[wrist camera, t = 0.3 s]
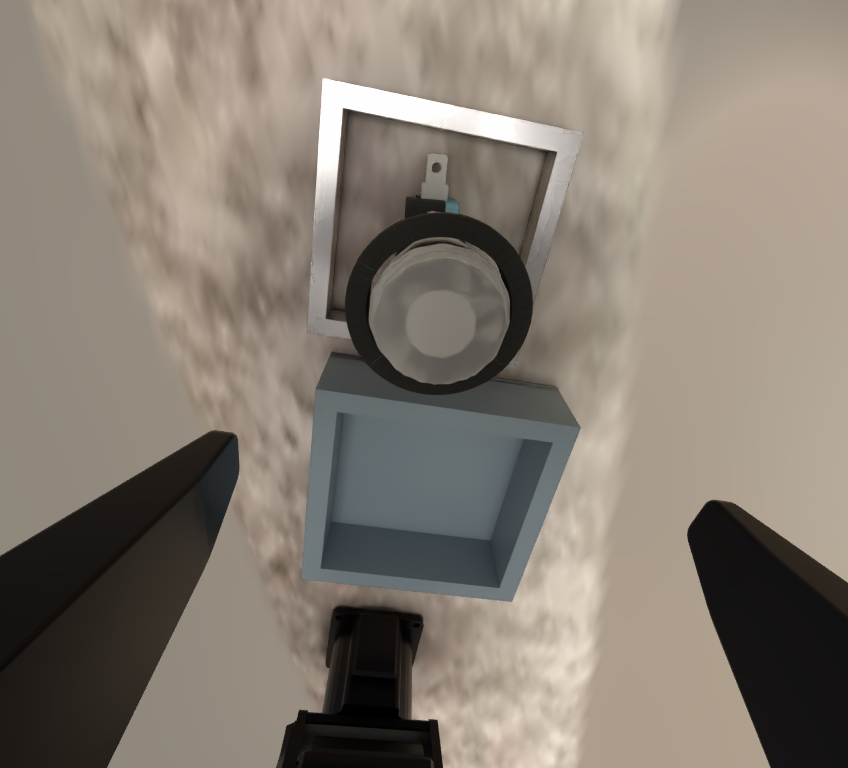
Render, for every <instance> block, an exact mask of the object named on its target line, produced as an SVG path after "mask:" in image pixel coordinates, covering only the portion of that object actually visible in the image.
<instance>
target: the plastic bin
mask: <svg viewBox="0 0 848 768" xmlns="http://www.w3.org/2000/svg"><path fill="white" fill-rule="evenodd" d="M580 428H581V427H580V426H579V424H578V422H577V421H576V419H575V417H574V416H573V414H572V412H571V411H570V409H569V407H568V406H567V404H566V402H565V400H564V399H563V397H562V395H561V394H560V392H559V390H558V389H557V387H553V386H546V385H540V384H533V383H527V382H520V381H514V380H507V379H501V378H494V377H493V378H492V379H490V380H489V381H487V382H485V383H483V384H481V385H480V386H477V387H475V388H473V389H470V390H467V391H464V392H460V393H455V394H448V395H425V394H419V393H414V392H411V391H407V390H405V389H402V388H399V387H397V386H395V385H393V384H391V383H389V382H388V381H386V380H385V379H383V378H382V377H380V376H379V375H378V374H376V373H375V372H374V371H373V370H372V369H371V368H370V367H369V366H368V365H367V364H366V362H365V361H364V360H363V359H362V357H358V356H352V355H345V354H339V353H332V352H331V354H330V356H329V359H328V361H327V364H326V366H325V368H324V371H323V373H322V375H321V378H320V380H319V383H318V385H317V387H316V393H315V406H314V419H313V432H312V444H311V457H310V470H309V483H308V496H307V509H306V522H305V535H304V548H303V561H302V574H301V579H303V580H313V581H322V582H332V583H341V584H350V585H360V586H369V587H378V588H388V589H397V590H406V591H416V592H425V593H434V594H444V595H453V596H462V597H472V598H481V599H490V600H500V601H509V602H512V600H513V598H514V595H515V593H516V590H517V588H518V585H519V583H520V580H521V578H522V575H523V573H524V570H525V568H526V565H527V562H528V560H529V557H530V555H531V552H532V550H533V547H534V545H535V542H536V540H537V537H538V535H539V532H540V530H541V527H542V524H543V522H544V519H545V517H546V514H547V512H548V509H549V507H550V504H551V502H552V499H553V497H554V494H555V492H556V489H557V486H558V484H559V481H560V479H561V476H562V474H563V471H564V469H565V466H566V464H567V461H568V459H569V456H570V454H571V451H572V448H573V446H574V443H575V441H576V438H577V436H578V433H579V431H580Z"/></svg>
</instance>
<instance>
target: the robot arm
mask: <svg viewBox="0 0 848 768" xmlns="http://www.w3.org/2000/svg"><path fill="white" fill-rule="evenodd" d="M238 475H239V450H238V438H237V436H236V435H235V434H234V433H231V432H224V431H217V430H213V431H210V432H208V433H206V434H205V435H203V436H201V437H200V438H198V439H196V440H195V441H193V442H191V443H189V444H188V445H186V446H184V447H183V448H181V449H180V450H178V451H176V452H174V453H173V454H171V455H169V456H168V457H166V458H164V459H162V460H161V461H159V462H157V463H156V464H154V465H152V466H151V467H149V468H147V469H146V470H144V471H142V472H141V473H139V474H137V475H135V476H134V477H132V478H130V479H129V480H127V481H125V482H124V483H122V484H120V485H119V486H117V487H115V488H114V489H112V490H110V491H108V492H107V493H105V494H103V495H102V496H100V497H98V498H97V499H95V500H93V501H92V502H90V503H88V504H87V505H85V506H83V507H82V508H80V509H78V510H77V511H75V512H73V513H71V514H70V515H68V516H66V517H65V518H63V519H61V520H60V521H58V522H56V523H55V524H53V525H51V526H49V527H48V528H46V529H44V530H43V531H41V532H40V533H38V534H36V535H34V536H33V537H31V538H29V539H28V540H26V541H24V542H23V543H21V544H19V545H17V546H16V547H14V548H12V549H11V550H9V551H7V552H6V553H4V554H2V555H1V556H0V768H107V766H108V764H109V762H110V760H111V758H112V756H113V754H114V752H115V750H116V748H117V746H118V744H119V742H120V740H121V738H122V736H123V734H124V731H125V730H126V727H127V726H128V724H129V722H130V719H131V717H132V715H133V713H134V711H135V709H136V707H137V705H138V703H139V701H140V699H141V697H142V695H143V693H144V691H145V689H146V687H147V685H148V683H149V681H150V679H151V677H152V675H153V672H154V671H155V668H156V666H157V664H158V662H159V660H160V658H161V656H162V654H163V652H164V650H165V648H166V646H167V644H168V642H169V640H170V638H171V636H172V634H173V632H174V630H175V628H176V626H177V623H178V622H179V620H180V617H181V615H182V613H183V611H184V609H185V607H186V605H187V603H188V601H189V599H190V597H191V595H192V593H193V591H194V589H195V587H196V585H197V583H198V581H199V579H200V577H201V575H202V573H203V571H204V568H205V566H206V564H207V562H208V559H209V557H210V555H211V552H212V549H213V547H214V544H215V541H216V539H217V535H218V533H219V530H220V527H221V524H222V522H223V519H224V516H225V513H226V510H227V508H228V505H229V502H230V499H231V496H232V494H233V491H234V488H235V485H236V482H237V479H238ZM687 537H688V542H689V546H690V549H691V552H692V556H693V559H694V562H695V566H696V570H697V573H698V576H699V580H700V583H701V587H702V590H703V593H704V596H705V600H706V604H707V607H708V610H709V613H710V616H711V619H712V621H713V624H714V627H715V629H716V632H717V634H718V637H719V639H720V642H721V645H722V647H723V650H724V652H725V655H726V657H727V660H728V662H729V665H730V667H731V669H732V672H733V674H734V677H735V679H736V682H737V684H738V687H739V690H740V692H741V695H742V697H743V699H744V702H745V705H746V707H747V710H748V712H749V715H750V717H751V720H752V722H753V725H754V727H755V730H756V732H757V735H758V737H759V740H760V743H761V745H762V748H763V750H764V753H765V755H766V758H767V760H768V763H769V765H770V767H771V768H848V583H847V582H846V581H844V580H843V579H841V578H840V577H839V576H837V575H836V574H835V573H833V572H832V571H830V570H829V569H827V568H826V567H825V566H823V565H822V564H820V563H819V562H817V561H816V560H815V559H813V558H812V557H810V556H809V555H807V554H806V553H804V552H803V551H802V550H800V549H799V548H797V547H796V546H795V545H793V544H791V543H790V542H789V541H787V540H786V539H785V538H783V537H782V536H780V535H779V534H777V533H776V532H775V531H773V530H772V529H770V528H769V527H767V526H766V525H764V524H763V523H762V522H760V521H759V520H757V519H756V518H755V517H753V516H752V515H750V514H749V513H747V512H746V511H745V510H743V509H742V508H740V507H739V506H738V505H736V504H734V503H731V502H726V501H719V500H710V501H709V502H707V503H706V504H705V505H704V506H703V508H702V509H701V511H700V512H699V513H698V515H697V516H696V518H695V519H694V520H693V522H692V523H691V525H690V526H689V528H688V533H687ZM422 630H423V618H422V617H420V616H415V615H405V614H395V613H385V612H376V611H366V610H356V609H346V608H336V609H334V610H333V612H332V618H331V626H330V633H329V641H328V649H327V657H326V667H327V668H330V669H329V675H328V681H327V687H326V693H325V699H324V705H323V711H322V713H312V712H308V711H307V710H299V713H298V717H297V721H295V722H294V723H292V724H289V725H287V726H286V731H285V735H284V740H283V744H282V749H281V753H280V756H279V760H278V763H277V767H276V768H443V763H442V755H441V746H440V737H439V729H438V721H437V720H434V719H429V720H428V721H423V720H412V666H413V663H414V659H415V655H416V652H417V648H418V644H419V641H420V637H421V633H422Z"/></svg>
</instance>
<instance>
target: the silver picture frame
mask: <svg viewBox="0 0 848 768" xmlns="http://www.w3.org/2000/svg"><path fill="white" fill-rule="evenodd" d="M348 111H351V112H356V113H361V114H366V115H371V116H375V117H380V118H385V119H390V120H395V121H400V122H405V123H410V124H415V125H419V126H424V127H429V128H434V129H439V130H444V131H449V132H454V133H459V134H464V135H468V136H473V137H478V138H483V139H488V140H493V141H498V142H503V143H508V144H513V145H517V146H522V147H527V148H532V149H537V150H542V151H547V156H546V160H545V164H544V167H543V171H542V175H541V179H540V182H539V186H538V190H537V194H536V197H535V201H534V205H533V208H532V212H531V216H530V220H529V223H528V227H527V231H526V235H525V238H524V242H523V246H522V250H521V253H520V258H521V260H522V261H523V263H524V265H525V268H526V270H527V272H528V275H529V279H530V282H531V287H532V294H533V303H534V300H535V297H536V293H537V290H538V286H539V283H540V280H541V276H542V273H543V269H544V266H545V263H546V259H547V256H548V252H549V249H550V246H551V242H552V239H553V236H554V232H555V229H556V225H557V222H558V219H559V215H560V212H561V208H562V205H563V202H564V198H565V195H566V192H567V188H568V185H569V181H570V178H571V175H572V171H573V168H574V164H575V161H576V158H577V154H578V151H579V148H580V144H581V141H582V137H583V134H584V133H582V132H577V131H573V130H568V129H563V128H558V127H554V126H549V125H544V124H539V123H535V122H530V121H525V120H520V119H516V118H511V117H506V116H501V115H496V114H492V113H487V112H482V111H477V110H473V109H468V108H463V107H458V106H454V105H449V104H444V103H439V102H434V101H430V100H425V99H420V98H415V97H411V96H406V95H401V94H396V93H392V92H387V91H382V90H377V89H373V88H368V87H363V86H358V85H353V84H349V83H344V82H339V81H334V80H330V79H325V78H323V84H322V100H321V116H320V132H319V148H318V164H317V180H316V195H315V211H314V227H313V243H312V259H311V275H310V291H309V307H308V322H307V333H314V334H320V335H326V336H333V337H339V338H345V339H351V337H350V334H349V331H348V327H347V322H346V316H345V311H341V310H335V309H331V303H332V292H333V280H334V269H335V257H336V245H337V234H338V222H339V211H340V199H341V188H342V176H343V165H344V153H345V142H346V130H347V118H348ZM519 351H520V350H519ZM519 351H518V353H517V354H516V356H515V357H514V358H513V359H512V361H511V362H510V363H509V364H511V365H515V364H516V361H517V357H518V354H519Z"/></svg>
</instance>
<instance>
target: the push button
mask: <svg viewBox="0 0 848 768" xmlns="http://www.w3.org/2000/svg"><path fill="white" fill-rule="evenodd" d="M447 161H448V157H447V155H444V154H433V153H429V154H428V155H427V167H426V180H425V182H422V186H421V196H416V198H414V197H407V198H406V208H405V219H404V220H401V221H399V222H397V223H395V224H394V225H392V226H390V227H388V228H387V229H386V230H384V231H383V232H381V233H380V234H379V235H378V236H377V237H376V238H375V239H374V240H372V241H371V243H370V244H369V245H368V246H367V247H366V248H365V250H364V251H363V253H362V254H361V256H360V257H359V259H358V261H357V263H356V265H355V266H354V268H353V271H352V273H351V276H350V278H349V282H348V286H347V290H346V297H345V316H346V322H347V327H348V331H349V334H350V337H351V339H352V342H353V344H354V346H355V348H356V349H357V351H358V353H359V354H360V356H361V357H362V359H363V360H364V361H365V362H366V364H367V365H368V366H369V367H370V368H371V369H372V370H373V371H374V372H375V373H376V374H378V375H379V376H380V377H382V378H383V379H385V380H386V381H388V382H389V383H391V384H393V385H395V386H397V387H399V388H402V389H405V390H407V391H411V392H414V393H419V394H425V395H448V394H455V393H460V392H464V391H467V390H470V389H473V388H475V387H477V386H480V385H481V384H483V383H485V382H487V381H489V380H490V379H492V378H493V377H495V376H496V375H497V374H498V373H500V372H501V371H502V370H503V369H504V368H505V367H506V366H507V365H508V364H509V363H510V362H511V361H512V359H513V358H514V357H515V356H516V354H517V353H518V351H519V350H520V348H521V346H522V344H523V342H524V340H525V338H526V336H527V333H528V330H529V327H530V323H531V318H532V311H533V294H532V287H531V282H530V279H529V275H528V272H527V270H526V268H525V265H524V263H523V261H522V260H521V258H520V256H519V255H518V253H517V252H516V250H515V249H514V248H513V247H512V246H511V244H510V243H509V242H508V241H507V240H506V239H505V238H504V237H503V236H502V235H500V234H499V233H498V232H497V231H496V230H494V229H493V228H491V227H490V226H488V225H487V224H485V223H483V222H481V221H479V220H476V219H474V218H471V217H468V216H465V215H461V214H459V203H457V202H456V200H455V199H450V198H448V189H449V185H447V184H445V182H446V171H447ZM436 162H438V163H440V165H441V169H440V171H439V172H437V173H434V172H433V171H432V165H433V164H434V163H436ZM458 239H459V240H462V241H459V240H458ZM465 242H468V243H470V244H473V245H475V246H477V247H478V248H480V249H481V250H483V251H484V252H486V253H487V254H488V255H489V256H490V257H492V259H493V260H494V261H495V262H496V264H497V266H498V268H499V271H500V274H501V277H500V275H499V273H498V272H497V270H496V269H495V268H494V267H493V266H492V265H491V264H490V263H488V262H487V261H486V260H485V259H483V258H482V257H481V256H480V255H478V254H477V253H476V252H474V251H472V250H471V249H470V248H469V247H468V246H467V245H466V244H465ZM395 252H396V255H395V258H394V259H392V260H391V262H390V265H389V266H388V267H387V268H386V269H385V270H384V271H383V273H382V275H381V277H380V278H379V280H378V282H377V284H376V285H375V287H374V289H373V291H372V294H371V283H372V279H373V278H374V276H375V274H376V272H377V271H378V269H379V268H380V267H381V265H382V264H383V263H384V262H385V261H386V260H387V259H388V258H389V257H390V256H391V255H392V254H393V253H395ZM501 278H502V279H501ZM370 296H371V297H370Z"/></svg>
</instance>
